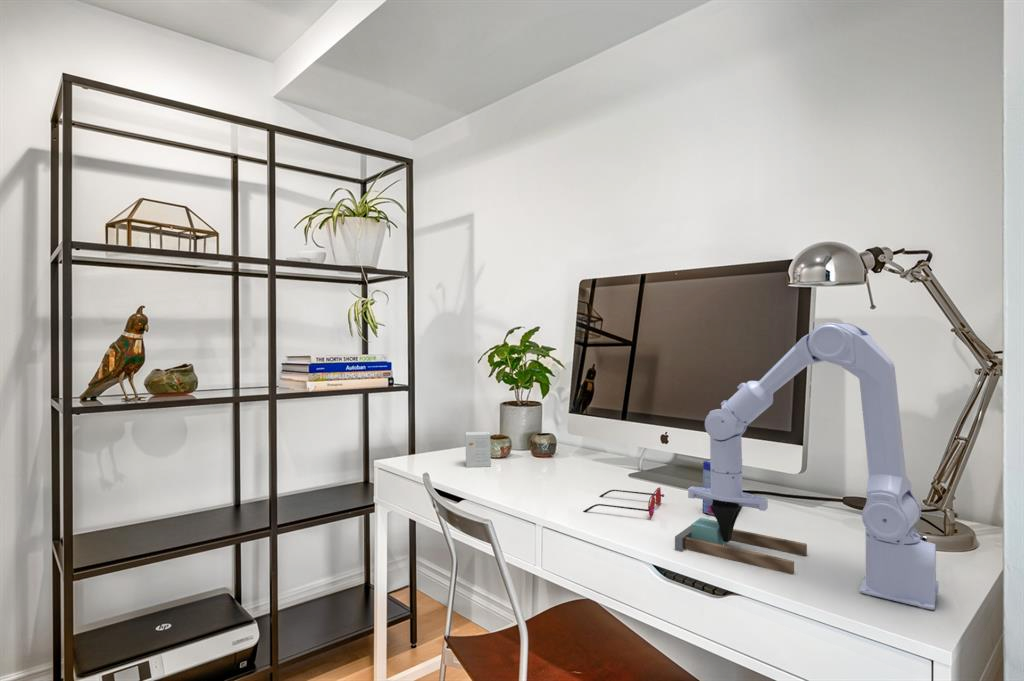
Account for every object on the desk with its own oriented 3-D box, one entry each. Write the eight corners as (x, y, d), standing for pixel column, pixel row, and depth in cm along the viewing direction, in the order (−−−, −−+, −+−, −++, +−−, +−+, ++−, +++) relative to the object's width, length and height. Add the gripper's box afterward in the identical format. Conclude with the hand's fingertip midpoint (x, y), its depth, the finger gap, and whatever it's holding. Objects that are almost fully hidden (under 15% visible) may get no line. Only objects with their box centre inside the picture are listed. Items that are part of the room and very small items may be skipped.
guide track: (806, 554, 105) (806, 543, 105) (792, 574, 97) (792, 562, 97) (705, 532, 117) (705, 523, 117) (685, 549, 108) (685, 538, 108)
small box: (490, 463, 184) (490, 430, 184) (491, 467, 178) (490, 433, 178) (466, 463, 183) (465, 431, 183) (465, 467, 178) (465, 434, 178)
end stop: (708, 530, 118) (708, 519, 118) (682, 551, 107) (682, 538, 107) (701, 529, 119) (701, 517, 119) (674, 549, 108) (674, 536, 108)
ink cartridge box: (724, 519, 126) (724, 454, 126) (701, 513, 130) (700, 451, 129) (743, 509, 133) (742, 447, 132) (720, 504, 137) (720, 444, 136)
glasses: (653, 523, 125) (653, 500, 125) (582, 513, 132) (582, 492, 132) (664, 505, 138) (664, 485, 138) (599, 497, 145) (599, 478, 145)
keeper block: (725, 542, 112) (725, 522, 112) (716, 550, 108) (716, 529, 108) (700, 537, 115) (700, 517, 115) (691, 544, 111) (691, 524, 111)
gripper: (771, 471, 107) (772, 542, 107) (697, 461, 116) (697, 527, 117) (761, 479, 102) (762, 554, 102) (683, 468, 111) (684, 536, 111)
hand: (727, 540), depth 109 cm, fingers closed
